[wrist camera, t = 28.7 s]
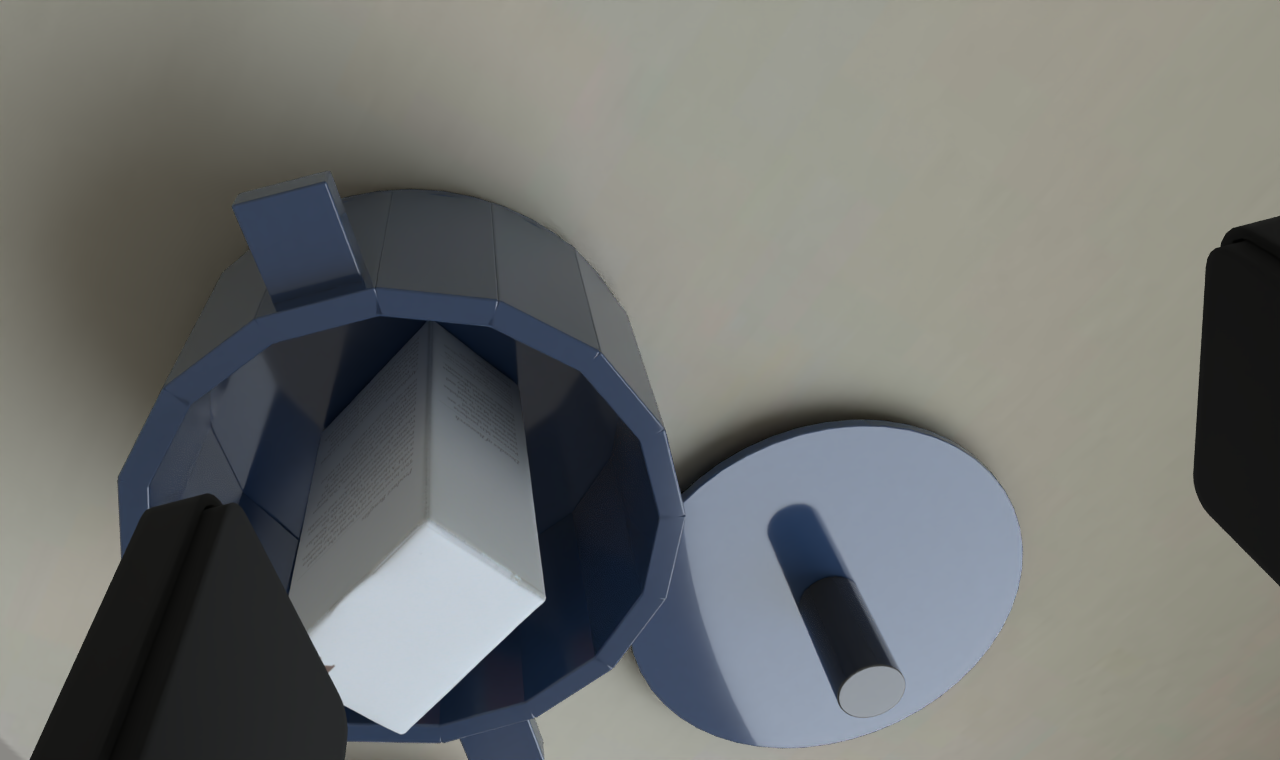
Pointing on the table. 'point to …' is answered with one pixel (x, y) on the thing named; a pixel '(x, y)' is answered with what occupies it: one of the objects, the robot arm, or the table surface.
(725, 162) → the table surface
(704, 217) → the table surface
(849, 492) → the pot lid
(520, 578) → the cosmetic box
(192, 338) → the pot
